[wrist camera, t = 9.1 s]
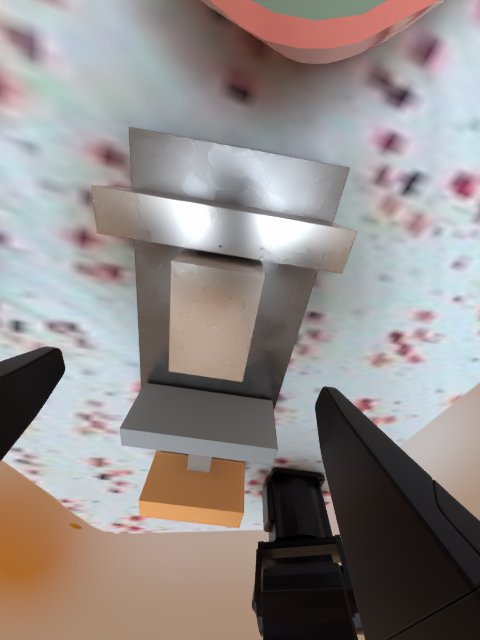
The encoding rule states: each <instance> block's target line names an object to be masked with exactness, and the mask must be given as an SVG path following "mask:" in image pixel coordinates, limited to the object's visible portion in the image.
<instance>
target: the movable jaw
mask: <svg viewBox="0 0 480 640" xmlns="http://www.w3.org/2000/svg"><path fill="white" fill-rule="evenodd" d="M120 434H121V443H122V445H123V446H130V447H138V448H146V449H153V450H161V451H169V452H177V453H184V454H189V455H182V454H175V453H167V452H159V451H156V454H155V457H154V460H153V462H152V465H151V468H150V471H149V474H148V476H147V479H146V482H145V485H144V487H143V490H142V493H141V496H140V498H139V510H140V516H142V517H150V518H159V519H167V520H175V521H184V522H192V523H201V524H209V525H218V526H226V527H234V528H239V527H240V523H241V520H242V517H243V514H244V474H245V463H244V462H236V461H229V460H221V459H213V458H212V457H215V458H223V459H230V460H238V461H246V462H253V463H261V464H269V465H272V464H273V461H274V459H275V456H276V453H277V450H278V446H277V437H276V428H275V419H274V410H273V401H271V400H264V399H256V398H249V397H242V396H235V395H228V394H221V393H214V392H207V391H200V390H193V389H186V388H179V387H172V386H165V385H158V384H150V383H145V384H144V386H143V387H142V389H141V391H140V393H139V395H138V396H137V398H136V400H135V402H134V404H133V406H132V407H131V409H130V411H129V413H128V415H127V416H126V418H125V420H124V422H123V424H122V425H121V427H120Z"/></svg>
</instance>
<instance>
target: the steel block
mask: <svg viewBox="0 0 480 640" xmlns="http://www.w3.org/2000/svg"><path fill="white" fill-rule="evenodd" d="M264 277H265V275H264V269H263V264H262V260H257V259H251V258H245V257H239V256H233V255H227V254H221V253H215V252H209V251H203V250H197V249H191V248H186V249H185V250H183V251H182V252H181V253H180V254H179V255H178V256H176V257H175V258H174V259H173V260H172V261H171V294H170V339H169V371H170V372H177V373H184V374H191V375H198V376H205V377H212V378H219V379H226V380H233V381H240V382H242V381H243V377H244V372H245V367H246V363H247V358H248V353H249V348H250V344H251V339H252V334H253V329H254V325H255V320H256V315H257V311H258V306H259V301H260V296H261V292H262V287H263V282H264Z"/></svg>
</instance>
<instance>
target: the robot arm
mask: <svg viewBox="0 0 480 640" xmlns="http://www.w3.org/2000/svg"><path fill="white" fill-rule="evenodd" d="M64 372H65V364H64V360H63V356H62V352H61V350H60V349H59V348H55V347H47V346H46V347H42V348H39V349H36V350H33V351H30V352H27V353H24V354H21V355H18V356H15V357H12V358H9V359H6V360H3V361H0V461H1V460H2V459H3V458H4V456H5V455H6V454H7V452H8V451H9V450H10V449H11V447H12V446H13V445H14V444H15V442H16V441H17V440H18V439H19V437H20V436H21V435H22V434H23V432H24V431H25V430H26V429H27V427H28V426H29V425H30V423H31V422H32V421H33V420H34V418H35V417H36V416H37V414H38V413H39V411H40V410H41V408H42V407H43V405H44V404H45V402H46V401H47V399H48V398H49V396H50V395H51V393H52V391H53V390H54V388H55V387H56V385H57V384H58V382H59V381H60V379H61V378H62V376H63V374H64ZM315 411H316V419H317V427H318V435H319V443H320V450H321V455H322V460H323V464H324V468H325V473H326V477H327V481H328V485H329V489H330V494H331V498H332V502H333V506H334V510H335V514H336V519H337V523H338V527H339V532H340V535H335V536H333V535H332V531H331V527H330V523H329V519H328V514H327V510H326V506H325V502H324V498H323V494H322V490H321V486H322V485H323V483H324V481H325V477H324V475H323V474H316V473H309V472H301V471H293V470H286V469H278V468H275V469H273V470H272V472H271V475H270V477H269V480H268V481H267V482H266V484H265V486H264V489H263V492H262V500H263V523H264V530H265V532H269V542H263V541H259V542H258V549H257V550H256V572H255V585H254V592H253V599H252V608H253V611H254V612H255V614H256V616H257V622H258V627H259V632H260V635H261V636H262V637H263V640H358V638H357V634H359V635H364V637H365V640H480V521H479V520H478V519H477V518H476V517H475V516H474V515H472V514H471V513H470V512H469V511H468V510H467V509H466V508H465V507H464V506H462V505H461V504H460V503H459V502H458V501H457V500H456V499H455V498H453V496H451V495H450V494H449V493H448V492H447V491H446V490H445V489H444V488H443V487H442V486H441V485H440V484H439V483H437V482H436V481H435V480H432V477H431V476H430V475H429V474H428V473H427V472H426V471H424V470H423V469H422V468H421V467H420V466H419V465H418V464H417V463H416V462H415V461H414V460H413V459H411V458H410V457H409V456H408V455H407V454H406V453H405V452H404V451H403V450H402V449H401V448H400V447H399V446H398V445H396V444H395V443H394V442H393V441H392V440H391V439H390V438H389V437H388V436H387V435H386V434H385V433H384V432H383V431H381V430H380V429H379V428H378V427H377V426H376V425H375V424H374V423H373V422H372V421H371V420H370V419H369V418H367V417H366V416H365V415H364V414H363V413H362V412H361V411H360V410H359V409H358V408H357V407H356V406H355V405H354V404H352V403H351V402H350V401H349V400H348V399H347V398H346V397H345V396H344V395H343V394H342V393H341V392H340V391H338V390H337V389H336V388H333V387H327V386H325V387H323V388H322V390H321V392H320V394H319V397H318V399H317V401H316V405H315ZM340 536H341V537H340ZM341 540H342V541H341ZM342 544H343V545H342ZM339 562H341V565H342V566H340V565H339V564H338V563H339Z"/></svg>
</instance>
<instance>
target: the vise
mask: <svg viewBox="0 0 480 640" xmlns="http://www.w3.org/2000/svg"><path fill="white" fill-rule="evenodd" d="M129 141H130V162H131V183H132V188H131V187H112V186H93V185H92V193H93V201H94V210H95V219H96V227H97V233H100V234H106V235H112V236H118V237H124V238H130V239H134V245H135V266H136V287H137V308H138V329H139V350H140V370H141V389H142V387H143V386H144V384H145V383H150V384H158V385H165V386H172V387H179V388H186V389H193V390H200V391H207V392H214V393H221V394H228V395H235V396H242V397H249V398H256V399H264V400H271V401H273V410H274V408H275V405H276V402H277V398H278V395H279V392H280V389H281V386H282V383H283V379H284V376H285V373H286V370H287V367H288V363H289V360H290V357H291V354H292V351H293V348H294V344H295V341H296V338H297V335H298V332H299V328H300V325H301V322H302V319H303V316H304V313H305V309H306V306H307V303H308V300H309V297H310V293H311V290H312V287H313V284H314V281H315V278H316V274H317V271H318V270H323V271H329V272H335V273H341V274H342V272H343V269H344V267H345V264H346V261H347V259H348V256H349V253H350V250H351V248H352V245H353V242H354V239H355V237H356V234H357V231H354V230H351V229H349V228H346V227H343V226H340V225H337V224H334V223H333V220H334V217H335V214H336V211H337V208H338V204H339V201H340V198H341V195H342V192H343V188H344V185H345V182H346V179H347V176H348V172H349V169H350V168H348V167H342V166H337V165H332V164H326V163H321V162H315V161H310V160H305V159H299V158H294V157H288V156H283V155H278V154H272V153H267V152H261V151H256V150H250V149H245V148H240V147H234V146H229V145H223V144H218V143H213V142H207V141H202V140H196V139H191V138H186V137H180V136H175V135H169V134H164V133H158V132H153V131H148V130H142V129H137V128H131V127H129ZM186 248H191V249H197V250H203V251H209V252H215V253H221V254H227V255H233V256H239V257H245V258H251V259H257V260H262V264H263V269H264V275H265V277H264V282H263V287H262V292H261V296H260V301H259V306H258V311H257V315H256V320H255V325H254V329H253V334H252V339H251V344H250V348H249V353H248V358H247V363H246V367H245V372H244V377H243V381H242V382H240V381H233V380H226V379H219V378H212V377H205V376H198V375H191V374H184V373H177V372H170V371H169V339H170V294H171V261H172V260H173V259H174V258H175V257H176V256H178V255H179V254H180V253H181V252H182V251H183V250H185V249H186Z"/></svg>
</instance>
